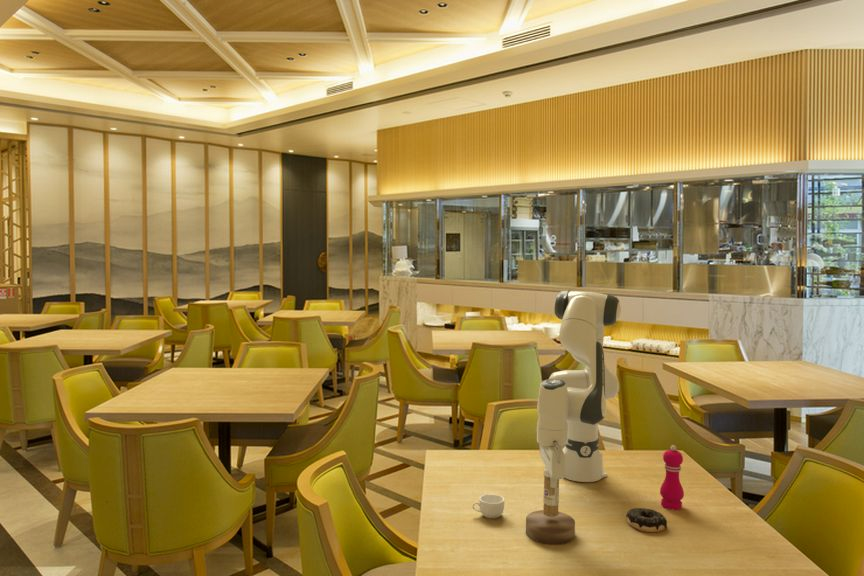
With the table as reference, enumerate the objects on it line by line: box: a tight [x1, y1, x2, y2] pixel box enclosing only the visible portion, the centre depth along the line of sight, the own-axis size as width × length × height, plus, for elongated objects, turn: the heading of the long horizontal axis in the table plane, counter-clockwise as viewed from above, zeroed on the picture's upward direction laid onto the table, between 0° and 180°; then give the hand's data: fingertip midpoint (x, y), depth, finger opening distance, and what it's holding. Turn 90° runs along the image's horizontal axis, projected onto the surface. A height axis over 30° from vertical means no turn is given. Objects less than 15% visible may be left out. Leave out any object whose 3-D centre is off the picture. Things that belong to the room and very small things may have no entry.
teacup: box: [472, 493, 506, 520], centre depth 196 cm, size 10×8×5 cm
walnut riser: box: [525, 509, 576, 546], centre depth 184 cm, size 14×14×4 cm
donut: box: [625, 507, 668, 533], centre depth 190 cm, size 11×12×4 cm
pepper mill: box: [659, 444, 685, 511], centre depth 204 cm, size 7×7×20 cm
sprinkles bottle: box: [542, 467, 560, 517], centre depth 183 cm, size 5×5×14 cm
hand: (551, 483), depth 183 cm, fingers closed on sprinkles bottle, 4 cm apart
